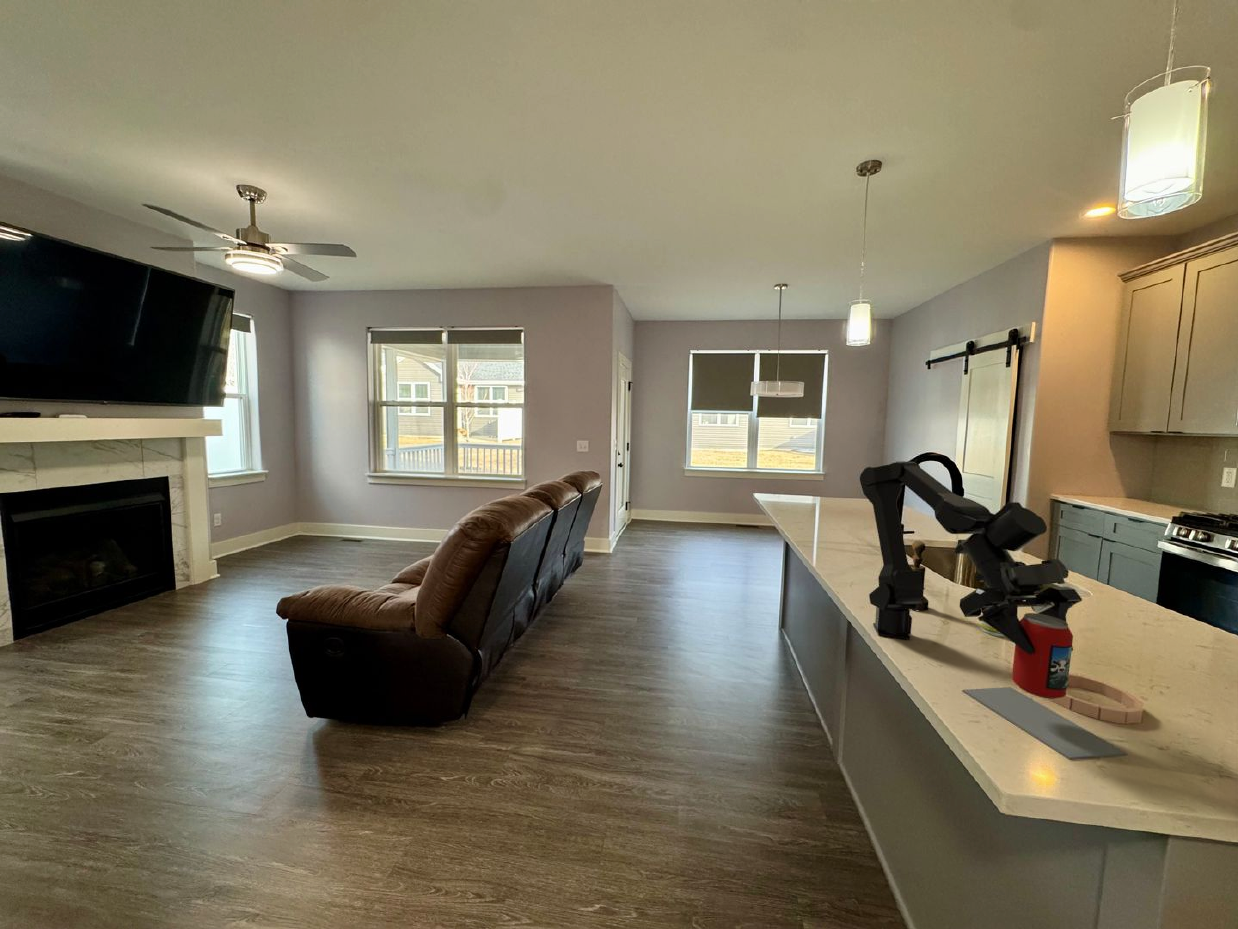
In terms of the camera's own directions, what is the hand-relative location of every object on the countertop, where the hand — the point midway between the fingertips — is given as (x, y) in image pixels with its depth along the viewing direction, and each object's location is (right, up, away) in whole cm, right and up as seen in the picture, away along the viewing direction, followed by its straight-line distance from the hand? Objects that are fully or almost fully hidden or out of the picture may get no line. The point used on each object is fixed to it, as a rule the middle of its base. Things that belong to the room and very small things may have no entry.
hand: (1051, 652), depth 77 cm
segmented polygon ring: (+14, -12, +8) cm, 20 cm away
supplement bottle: (+20, -10, +37) cm, 44 cm away
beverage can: (0, -7, +2) cm, 7 cm away
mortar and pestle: (+11, -9, +53) cm, 55 cm away
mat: (-1, -12, +2) cm, 12 cm away
